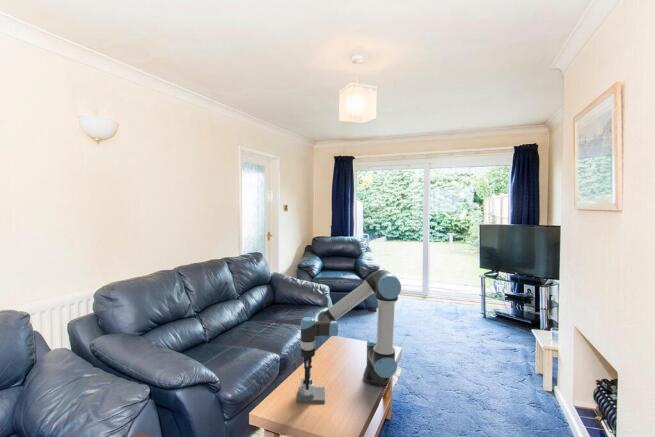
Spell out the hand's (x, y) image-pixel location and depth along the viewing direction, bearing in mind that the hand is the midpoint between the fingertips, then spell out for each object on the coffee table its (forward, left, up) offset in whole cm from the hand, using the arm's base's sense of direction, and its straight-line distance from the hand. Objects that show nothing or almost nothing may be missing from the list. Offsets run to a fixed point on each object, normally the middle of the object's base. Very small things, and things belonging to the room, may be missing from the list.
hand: (307, 387), depth 178 cm
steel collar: (0, 0, -3) cm, 3 cm away
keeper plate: (-2, 0, -5) cm, 5 cm away
